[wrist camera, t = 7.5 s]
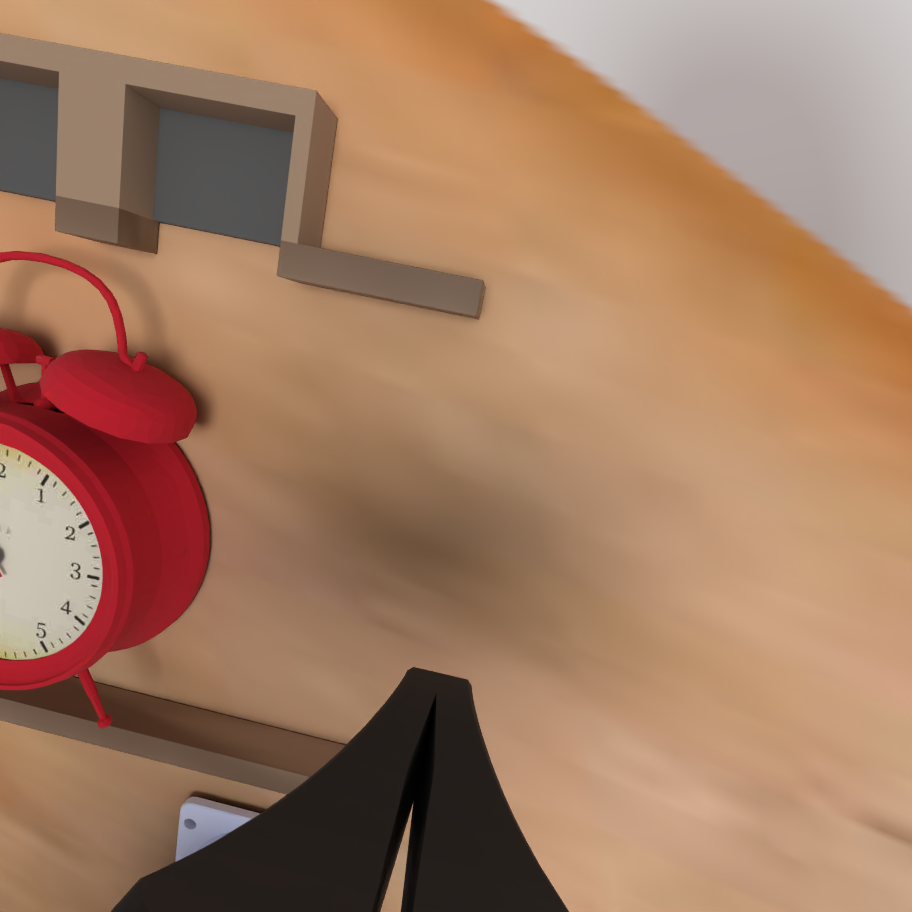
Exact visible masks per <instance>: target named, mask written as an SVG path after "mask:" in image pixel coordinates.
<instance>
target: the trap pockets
mask: <svg viewBox="0 0 912 912" xmlns="http://www.w3.org/2000/svg"><path fill="white" fill-rule="evenodd" d="M336 126H337V117H336V116H335V115H334V113H333V112H332V111H331V109H330V108H329V107H328V105H327V104H326V103H325V101H324V100H323V99H322V97H321V96H320V95H319V93H318V92H317V91H316V90H311V89H305V88H300V87H294V86H289V85H283V84H278V83H272V82H267V81H261V80H256V79H250V78H245V77H239V76H234V75H228V74H223V73H217V72H212V71H206V70H201V69H195V68H190V67H184V66H179V65H173V64H168V63H162V62H157V61H152V60H146V59H141V58H135V57H130V56H124V55H119V54H113V53H108V52H102V51H97V50H91V49H86V48H80V47H75V46H69V45H64V44H58V43H53V42H47V41H42V40H36V39H31V38H25V37H20V36H14V35H9V34H3V33H0V191H5V192H10V193H15V194H20V195H25V196H30V197H35V198H40V199H45V200H50V201H55V202H56V196H61V197H66V198H71V199H76V200H81V201H86V202H91V203H96V204H101V205H106V206H111V207H116V208H120V209H123V210H126V211H129V212H132V213H134V214H137V215H140V216H143V217H146V218H148V219H151V220H154V221H157V222H160V223H165V224H170V225H175V226H180V227H185V228H190V229H195V230H200V231H205V232H210V233H215V234H220V235H225V236H230V237H235V238H240V239H245V240H250V241H255V242H260V243H265V244H270V245H275V246H280V244H281V240H282V241H287V242H292V243H297V244H302V245H307V246H312V247H317V248H320V246H321V239H322V231H323V224H324V216H325V209H326V201H327V194H328V186H329V179H330V171H331V164H332V156H333V149H334V141H335V133H336Z"/></svg>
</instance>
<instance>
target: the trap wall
mask: <svg viewBox="0 0 912 912" xmlns="http://www.w3.org/2000/svg"><path fill="white" fill-rule="evenodd" d="M158 227H159V222H157V221H154V220H151V219H148V218H146V217H143V216H140V215H137V214H134V213H132V212H129V211H126V210H123V209H120V208H116V207H111V206H106V205H101V204H96V203H91V202H86V201H81V200H76V199H71V198H66V197H61V196H56V209H55V231H58V232H62V233H66V234H70V235H73V236H77V237H81V238H85V239H89V240H93V241H97V242H101V243H106V244H111V245H116V246H121V247H126V248H130V249H135V250H140V251H145V252H150V253H155V254H157V242H158ZM277 276H279V277H282V278H286V279H289V280H292V281H295V282H299V283H303V284H308V285H313V286H317V287H322V288H327V289H332V290H337V291H342V292H347V293H352V294H357V295H362V296H367V297H372V298H376V299H381V300H386V301H391V302H396V303H401V304H406V305H411V306H416V307H421V308H426V309H431V310H436V311H440V312H445V313H450V314H455V315H460V316H465V317H470V318H475V319H479V318H480V313H481V308H482V303H483V298H484V293H485V288H486V287H485V284H484V282H483V280H478V279H473V278H468V277H463V276H458V275H453V274H448V273H443V272H438V271H433V270H428V269H423V268H418V267H413V266H408V265H403V264H398V263H393V262H388V261H383V260H378V259H372V258H367V257H362V256H357V255H352V254H347V253H342V252H337V251H332V250H327V249H322V248H317V247H312V246H307V245H302V244H297V243H292V242H287V241H282V240H281V244H280V253H279V261H278V270H277ZM94 683H95V686H96V688H97V690H98V696H99V698H100V701H101V703H102V706H103V708H104V711H105V713H106V715H111V716H112V718H113V719H112V723H111V724H110V725H109V726H108V727H106V728H103V729H102V728H99V727H98V725H97V721H98V720H99V716H98V714H97V712H96V710H95V708H94V706H93V704H92V702H91V700H90V697H88V696H87V694H86V692H85V689H84V687H83V685H82V683H81V681H80V678H76V677H70V678H68V679H65V680H62V681H59V682H56V683H53V684H50V685H47V686H44V687H39V688H34V689H27V690H1V689H0V720H1V721H5V722H8V723H12V724H16V725H20V726H24V727H28V728H32V729H36V730H39V731H43V732H47V733H51V734H55V735H59V736H63V737H67V738H70V739H74V740H78V741H82V742H86V743H90V744H94V745H98V746H101V747H105V748H109V749H113V750H117V751H121V752H125V753H129V754H132V755H136V756H140V757H144V758H148V759H152V760H156V761H159V762H163V763H167V764H171V765H175V766H179V767H183V768H187V769H190V770H194V771H198V772H202V773H206V774H210V775H214V776H218V777H221V778H225V779H229V780H233V781H237V782H241V783H245V784H249V785H252V786H256V787H260V788H264V789H268V790H272V791H276V792H280V793H283V794H289V793H290V792H291V791H293V790H294V789H295V788H297V787H298V786H299V785H301V784H302V783H303V782H305V781H306V780H307V779H308V778H310V777H311V776H312V775H313V774H314V773H316V772H317V771H318V770H319V769H321V768H322V767H323V766H324V765H325V764H326V763H327V762H329V761H330V760H331V759H332V758H333V757H334V756H335V755H336V754H337V753H339V752H340V751H341V750H342V749H343V748H344V747H345V746H346V745H342V744H338V743H334V742H330V741H326V740H322V739H318V738H314V737H311V736H307V735H303V734H299V733H295V732H291V731H287V730H283V729H279V728H275V727H271V726H267V725H263V724H259V723H255V722H251V721H247V720H243V719H239V718H235V717H231V716H227V715H223V714H219V713H215V712H211V711H207V710H203V709H199V708H195V707H191V706H187V705H183V704H179V703H175V702H171V701H167V700H163V699H159V698H155V697H151V696H147V695H143V694H139V693H135V692H132V691H128V690H124V689H120V688H116V687H112V686H108V685H104V684H100V683H96V682H94Z"/></svg>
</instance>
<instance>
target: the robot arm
mask: <svg viewBox="0 0 912 912" xmlns="http://www.w3.org/2000/svg"><path fill="white" fill-rule="evenodd" d="M413 801H414V802H413ZM412 805H413V811H412V819H411V828H410V837H409V845H408V854H407V863H406V872H405V881H404V889H403V898H402V907H401V912H569V911H568V909H567V908H566V906H565V905H564V903H563V902H562V900H561V898H560V897H559V895H558V894H557V892H556V890H555V889H554V887H553V886H552V884H551V882H550V881H549V879H548V878H547V876H546V875H545V873H544V871H543V870H542V868H541V867H540V865H539V863H538V861H537V859H536V858H535V856H534V854H533V852H532V850H531V848H530V847H529V845H528V843H527V841H526V839H525V837H524V835H523V833H522V831H521V830H520V828H519V826H518V824H517V822H516V820H515V818H514V815H513V813H512V811H511V809H510V807H509V805H508V802H507V800H506V798H505V796H504V793H503V791H502V788H501V786H500V783H499V781H498V778H497V776H496V774H495V771H494V768H493V765H492V763H491V760H490V757H489V754H488V751H487V748H486V745H485V742H484V739H483V736H482V733H481V729H480V726H479V722H478V718H477V714H476V710H475V706H474V701H473V695H472V686H471V684H470V683H469V681H468V680H467V679H463V678H458V677H454V676H450V675H445V674H441V673H437V672H433V671H428V670H424V669H420V668H415V667H413V668H411V669H409V670H407V672H406V674H405V676H404V678H403V679H402V681H401V682H400V684H399V685H398V687H397V688H396V690H395V691H394V692H393V694H392V695H391V696H390V697H389V699H388V700H387V701H386V703H385V704H384V705H383V706H382V707H381V708H380V710H379V711H378V712H377V713H376V714H375V715H374V716H373V718H372V719H371V720H370V721H369V722H368V723H367V724H366V726H365V727H364V728H363V729H362V730H361V731H360V732H359V733H358V734H357V735H356V736H355V737H354V738H353V739H352V740H351V741H350V742H349V743H348V744H347V745H346V746H345V747H344V748H343V749H342V750H341V751H340V752H339V753H337V754H336V755H335V756H334V757H333V758H332V759H331V760H330V761H329V762H327V763H326V764H325V765H324V766H323V767H322V768H321V769H319V770H318V771H317V772H316V773H314V774H313V775H312V776H311V777H310V778H308V779H307V780H306V781H305V782H303V783H302V784H301V785H299V786H298V787H297V788H295V789H294V790H293V791H291V792H290V793H289V794H287V795H286V796H285V797H283V798H282V799H281V800H279V801H278V802H276V803H275V804H274V805H272V806H271V807H269V808H268V809H266V810H265V811H263V812H262V813H257V812H253V811H249V810H245V809H241V808H237V807H234V806H230V805H226V804H222V803H218V802H214V801H211V800H207V799H203V798H199V797H190V798H188V799H187V800H186V801H185V802H184V804H183V805H182V807H181V809H180V817H179V827H178V837H177V847H176V857H175V862H174V863H172V864H170V865H168V866H166V867H164V868H162V869H160V870H158V871H156V872H154V873H152V874H150V875H147V876H145V877H143V878H141V879H140V880H139V881H138V882H137V883H136V884H135V885H134V886H133V887H132V888H131V889H130V891H129V892H128V893H127V894H126V895H125V896H124V897H123V898H122V899H121V901H120V902H119V903H118V904H117V905H116V906H115V907H114V909H113V910H112V911H111V912H380V910H381V907H382V904H383V900H384V897H385V894H386V890H387V887H388V884H389V881H390V877H391V874H392V871H393V867H394V864H395V861H396V858H397V854H398V851H399V848H400V844H401V841H402V838H403V834H404V831H405V828H406V824H407V821H408V818H409V815H410V811H411V808H412Z"/></svg>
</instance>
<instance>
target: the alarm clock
mask: <svg viewBox="0 0 912 912" xmlns="http://www.w3.org/2000/svg"><path fill="white" fill-rule="evenodd" d="M11 260H29V261H37V262H43V263H47V264H51V265H55V266H59V267H62V268H65V269H67V270H70V271H72V272H74V273H76V274H78V275H80V276H82V277H83V278H85V279H87V280H88V281H89V282H90V283H91V284H92V285H94V286H95V287H96V288H97V289H98V290H99V291H100V293H101V294H102V295H103V297H104V298H105V300H106V301H107V303H108V306H109V308H110V311H111V314H112V316H113V321H114V325H115V330H116V335H117V343H118V352H119V353H114V352H109V351H101V350H78V351H71V352H67V353H65V354H63V355H61V356H60V357H58V358H53V357H49V356H45V355H44V353H43V351H42V349H41V347H40V346H39V345H38V344H37V343H36V342H35V341H34V340H33V339H32V338H30V337H29V336H26V335H24V334H22V333H19V332H17V331H12V330H8V329H3V328H0V367H1V370H2V374H3V377H4V380H5V383H6V387H7V390H4V391H1V392H0V689H1V690H27V689H34V688H39V687H44V686H47V685H50V684H53V683H56V682H59V681H62V680H65V679H68V678H70V677H72V676H75V675H77V674H78V676H79V678H80V681H81V683H82V685H83V687H84V689H85V692H86V694H87V696H88V697H90V700H91V702H92V704H93V706H94V708H95V710H96V712H97V714H98V716H99V720H98V721H97V725H98V727H99V728H102V729H103V728H106V727H108V726H109V725H110V724H111V723H112V719H113V718H112V716H111V715H106V713H105V711H104V708H103V706H102V703H101V701H100V698H99V696H98V690H97V688H96V686H95V683H94V681H93V679H92V677H91V674H90V672H89V670H88V668H89V667H91V666H92V665H93V664H94V663H96V662H97V661H98V660H99V659H100V658H101V657H103V656H104V655H105V654H106V653H107V652H112V651H118V650H122V649H127V648H130V647H133V646H136V645H139V644H141V643H144V642H146V641H148V640H149V639H151V638H153V637H155V636H156V635H158V634H159V633H161V632H162V631H163V630H165V629H166V628H167V627H168V626H170V625H171V624H172V623H173V622H174V621H176V620H177V619H178V618H179V617H180V616H181V615H182V614H183V612H184V611H185V610H186V609H187V607H188V606H189V605H190V603H191V602H192V600H193V599H194V597H195V596H196V594H197V592H198V590H199V587H200V585H201V583H202V580H203V578H204V574H205V571H206V566H207V562H208V557H209V548H210V528H209V521H208V514H207V508H206V504H205V501H204V497H203V494H202V492H201V489H200V486H199V483H198V481H197V479H196V476H195V474H194V472H193V470H192V468H191V467H190V465H189V463H188V462H187V460H186V458H185V457H184V455H183V454H182V452H181V451H180V449H179V448H178V447H177V445H176V444H175V443H174V442H177V441H179V440H182V439H185V438H187V437H188V435H189V433H190V432H191V430H192V428H193V426H194V424H195V421H196V417H197V410H196V405H195V401H194V399H193V397H192V395H191V394H190V393H189V392H188V391H187V390H186V389H185V388H184V387H183V386H182V385H181V384H180V383H179V382H178V381H176V380H175V379H173V378H172V377H170V376H169V375H167V374H166V373H165V372H163V371H162V370H160V369H157V368H155V367H153V366H151V365H149V364H147V363H145V362H146V360H147V358H148V356H147V354H146V353H143V352H138V353H137V355H136V358H132V357H129V356H128V355H127V340H126V332H125V327H124V322H123V317H122V314H121V311H120V309H119V306H118V303H117V301H116V299H115V297H114V296H113V294H112V292H111V291H110V290H109V289H108V288H107V287H106V285H105V284H104V283H103V282H102V281H101V280H100V279H99V278H98V277H96V276H95V275H93V274H92V273H90V272H89V271H88V270H86V269H84V268H82V267H80V266H78V265H76V264H74V263H71V262H69V261H67V260H63V259H60V258H56V257H53V256H49V255H46V254H42V253H33V252H22V251H11V252H1V253H0V262H5V261H11ZM14 363H38V364H41V365H42V377H41V379H40V381H39V382H38V383H29V384H25V385H20V386H16V385H15V382H14V379H13V376H12V373H11V370H10V367H9V364H14Z"/></svg>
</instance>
